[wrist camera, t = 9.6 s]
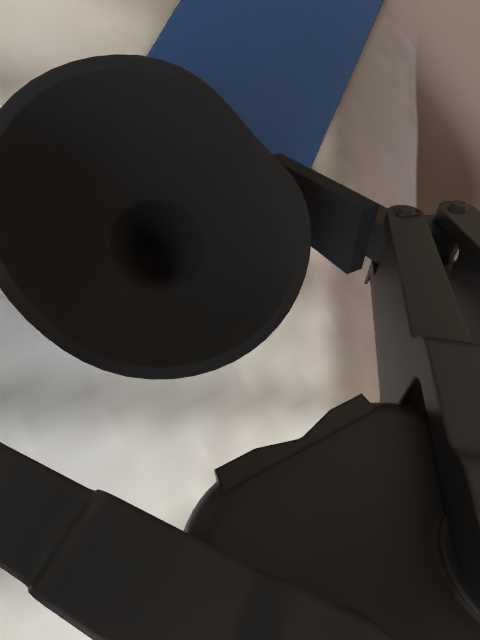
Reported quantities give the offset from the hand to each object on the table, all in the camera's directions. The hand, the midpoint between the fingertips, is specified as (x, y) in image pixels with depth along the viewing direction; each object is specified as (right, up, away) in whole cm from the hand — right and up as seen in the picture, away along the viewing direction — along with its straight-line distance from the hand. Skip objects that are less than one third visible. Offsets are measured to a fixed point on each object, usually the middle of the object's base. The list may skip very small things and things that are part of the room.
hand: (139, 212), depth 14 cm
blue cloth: (+7, +16, +8) cm, 19 cm away
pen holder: (-1, -2, +5) cm, 5 cm away
